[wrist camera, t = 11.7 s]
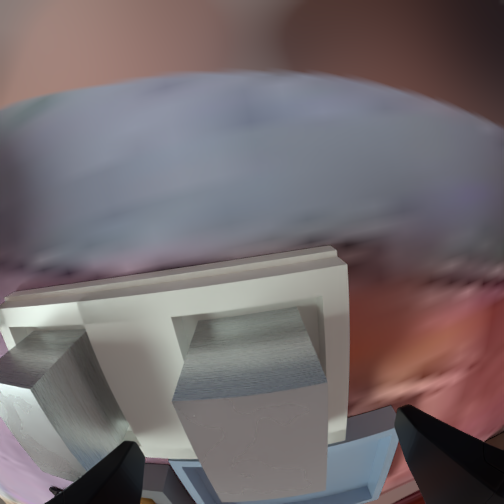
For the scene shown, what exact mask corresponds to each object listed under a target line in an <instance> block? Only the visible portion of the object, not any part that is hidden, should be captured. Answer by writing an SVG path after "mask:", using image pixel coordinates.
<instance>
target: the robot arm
mask: <svg viewBox="0 0 504 504" xmlns="http://www.w3.org/2000/svg"><path fill="white" fill-rule="evenodd" d="M394 427H395V430H396V433H397V436H398V439H399V442H400V445H401V448H402V451H403V454H404V457H405V460H406V462H407V464H408V467H409V469H410V471H411V473H412V475H413V477H414V479H415V481H416V483H417V485H418V487H419V489H420V492H421V494H422V496H423V498H424V500H425V502H426V504H504V450H502V449H500V448H497V447H495V446H492V445H490V444H488V443H486V442H483V441H481V440H479V439H477V438H475V437H473V436H471V435H469V434H466V433H464V432H462V431H460V430H458V429H456V428H454V427H452V426H450V425H448V424H446V423H444V422H442V421H440V420H438V419H436V418H434V417H433V416H431V415H429V414H427V413H425V412H423V411H421V410H419V409H417V408H415V407H413V406H412V405H409V404H408V405H404V406H402V407H399V408H398V409H397V413H396V418H395V422H394ZM144 466H145V456H144V454H143V452H142V451H141V449H140V447H139V446H138V444H137V443H136V442H135V441H127V440H126V441H123V442H122V443H121V444H120V445H118V446H117V447H116V448H115V449H114V450H113V451H111V452H110V453H109V454H108V455H107V456H105V457H104V458H103V459H102V460H101V461H99V462H98V463H97V464H96V465H95V466H93V467H92V468H91V469H90V470H88V471H87V472H86V473H85V474H83V475H82V476H81V477H80V478H78V479H77V480H76V481H75V482H73V483H72V484H71V485H70V486H68V487H67V488H66V489H64V490H63V491H61V490H58V489H55V488H53V487H50V488H49V490H50V491H51V492H52V493H53V494H54V495H55V496H54V498H52V499H51V500H49V501H48V502H46V503H45V504H140V502H141V497H142V490H143V478H144Z"/></svg>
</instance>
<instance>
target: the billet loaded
mask: <svg viewBox="0 0 504 504" xmlns="http://www.w3.org/2000/svg"><path fill="white" fill-rule="evenodd" d="M0 416H1V418H2V419H3V421H4V422H5V424H6V425H7V427H8V428H9V430H10V431H11V432H12V434H13V435H14V437H15V438H16V439H17V441H18V442H19V443H20V445H21V446H22V447H23V448H24V450H25V451H26V452H27V454H28V455H29V456H30V457H31V458H32V460H33V461H34V462H35V463H36V464H37V466H38V467H39V468H40V469H41V470H42V471H43V472H46V473H48V474H51V475H54V476H57V477H60V478H63V479H66V480H69V481H73V482H75V481H76V480H77V479H78V478H80V477H81V476H82V475H83V474H85V473H86V472H87V471H88V470H90V469H91V468H92V467H93V466H95V465H96V464H97V463H98V462H99V461H101V460H102V459H103V458H104V457H105V456H107V455H108V454H109V453H110V452H111V451H113V450H114V449H115V448H116V447H117V446H118V445H120V444H121V443H122V441H123V439H124V436H125V434H126V432H127V429H128V427H129V424H128V422H127V420H126V418H125V416H124V415H123V413H122V411H121V409H120V407H119V405H118V403H117V401H116V399H115V397H114V395H113V393H112V391H111V389H110V387H109V385H108V382H107V380H106V378H105V376H104V374H103V371H102V369H101V367H100V365H99V362H98V360H97V357H96V355H95V353H94V350H93V348H92V345H91V342H90V340H89V337H88V335H87V332H86V329H74V330H40V331H33V332H32V333H30V334H29V335H28V336H27V337H25V338H24V339H23V340H22V341H20V342H19V343H18V344H17V345H15V346H14V347H13V348H12V349H10V350H9V351H8V352H7V353H6V354H4V355H3V356H2V357H1V358H0Z"/></svg>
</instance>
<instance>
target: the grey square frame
mask: <svg viewBox="0 0 504 504" xmlns="http://www.w3.org/2000/svg"><path fill="white" fill-rule="evenodd" d="M142 497H143V498H150V499H153V501H154V502H155V503H156V504H195V503H194V501H193V500H192V499H191V497H190V496H189V494H188V493H187V492H186V490H185V489H184V487H183V486H182V484H181V483H180V481H179V480H178V478H177V477H176V475H175V474H174V472H173V471H172V469H171V467H170V466H169V465H161V464H148V463H145V466H144V478H143V490H142Z"/></svg>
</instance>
